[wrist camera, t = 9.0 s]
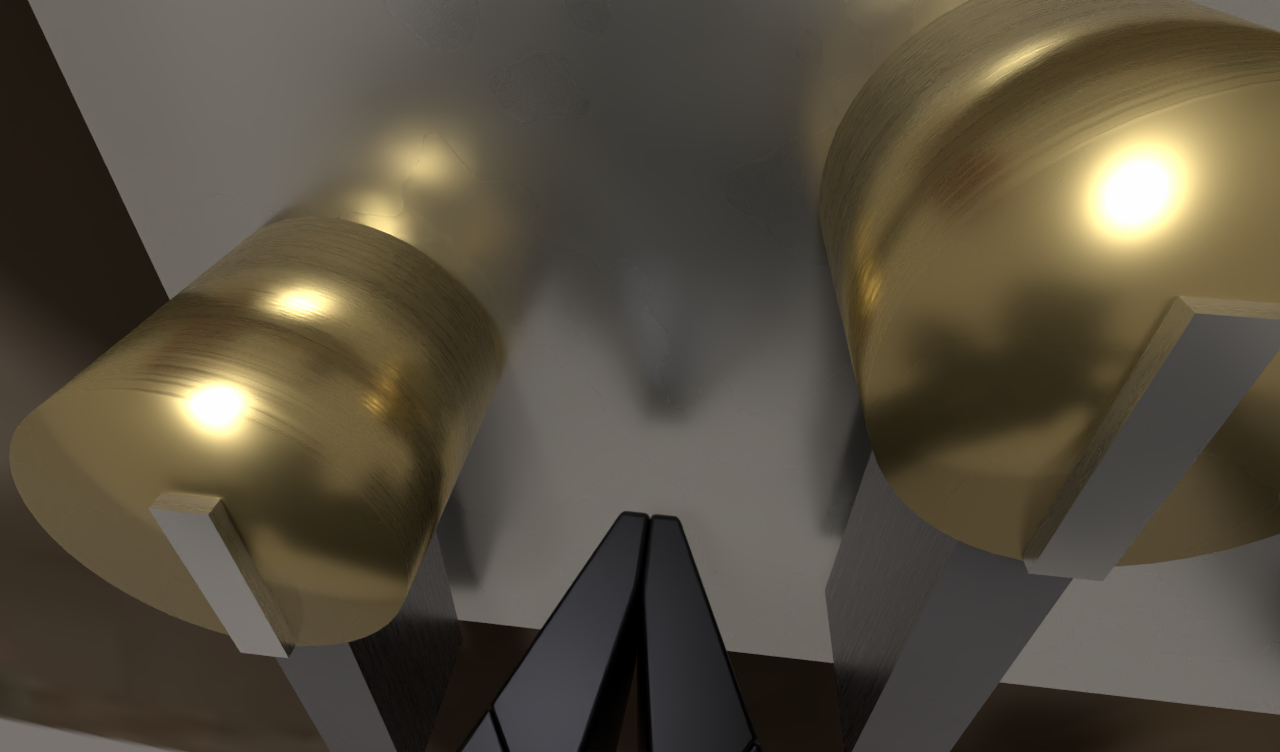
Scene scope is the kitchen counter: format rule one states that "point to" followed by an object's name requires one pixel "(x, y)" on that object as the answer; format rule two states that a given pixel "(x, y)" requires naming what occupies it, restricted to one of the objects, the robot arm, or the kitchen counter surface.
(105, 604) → the kitchen counter surface
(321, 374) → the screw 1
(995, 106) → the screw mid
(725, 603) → the base plate
